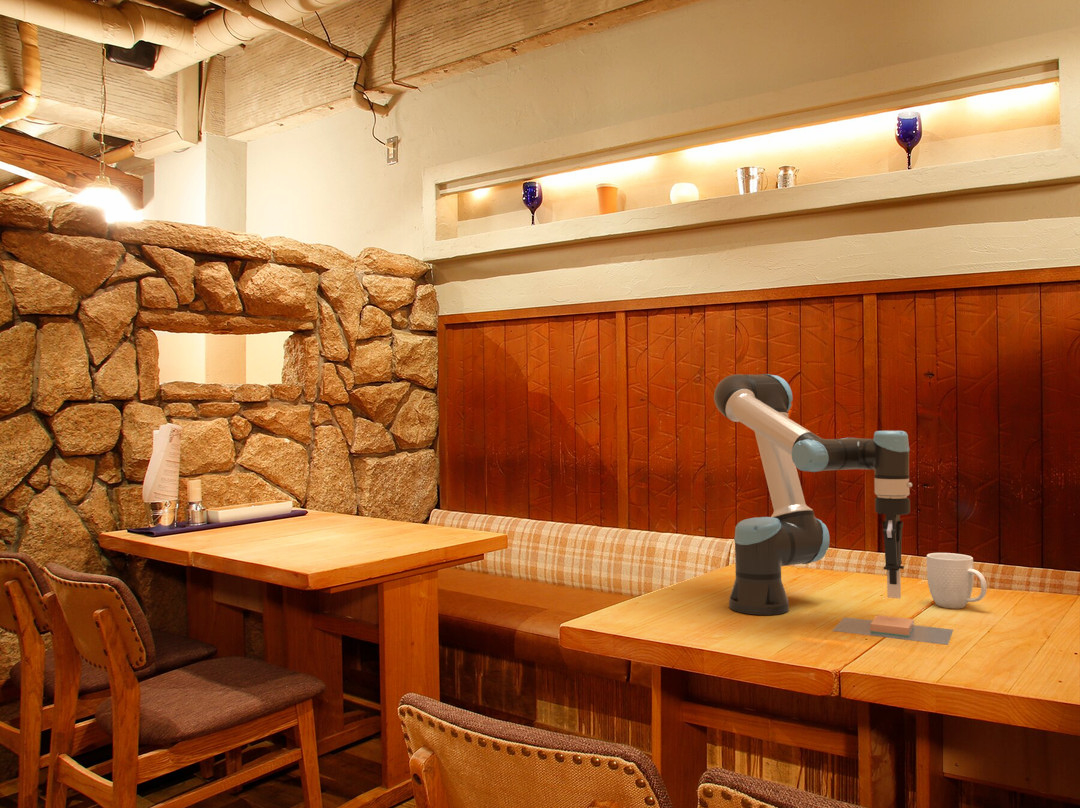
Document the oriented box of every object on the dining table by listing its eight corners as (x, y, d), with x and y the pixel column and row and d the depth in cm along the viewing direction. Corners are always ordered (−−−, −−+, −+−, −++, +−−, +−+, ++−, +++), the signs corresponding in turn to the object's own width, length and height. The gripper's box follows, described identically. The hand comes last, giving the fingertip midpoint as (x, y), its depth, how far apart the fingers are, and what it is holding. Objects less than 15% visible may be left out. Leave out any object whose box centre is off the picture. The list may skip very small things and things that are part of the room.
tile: (877, 623, 194) (870, 632, 186) (877, 615, 194) (870, 623, 186) (914, 627, 190) (908, 637, 182) (913, 619, 190) (908, 628, 182)
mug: (997, 609, 210) (996, 558, 210) (974, 616, 204) (973, 563, 204) (942, 599, 222) (941, 551, 222) (918, 604, 216) (917, 555, 216)
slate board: (832, 634, 188) (832, 630, 188) (844, 621, 200) (844, 617, 200) (947, 649, 176) (947, 644, 176) (953, 633, 188) (953, 629, 188)
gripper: (906, 499, 184) (908, 604, 183) (913, 494, 195) (915, 593, 195) (870, 498, 188) (872, 601, 187) (879, 493, 199) (881, 590, 198)
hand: (894, 597), depth 191 cm, fingers closed
